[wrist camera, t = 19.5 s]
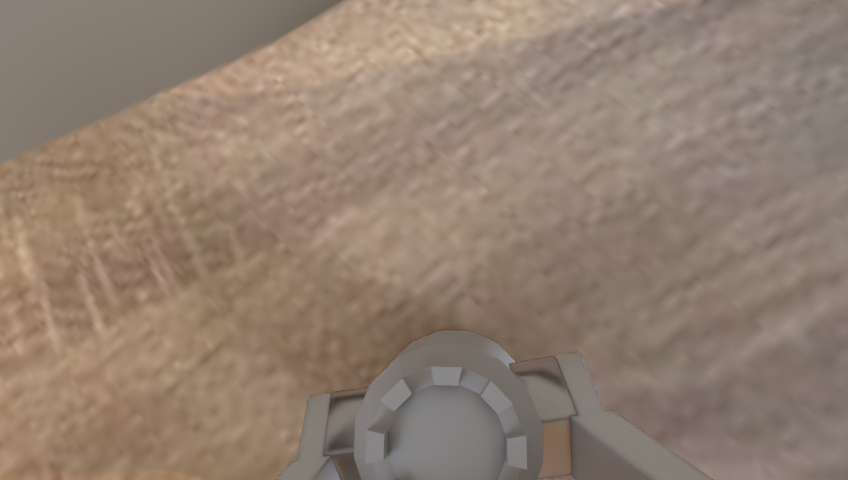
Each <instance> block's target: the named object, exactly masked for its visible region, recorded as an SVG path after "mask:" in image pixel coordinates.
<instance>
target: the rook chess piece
mask: <svg viewBox="0 0 848 480" xmlns="http://www.w3.org/2000/svg"><path fill="white" fill-rule="evenodd" d="M509 363H515V361H514V360H513V359H512V358H511V357H510V356H509V355H508V354H507V353H506V352H505V350H504V349H503V348H502V347H501V346H500V345H499V344H498V343H497V342H494V341H492V340H490V339H487V338H485V337H483V336H481V335H478V334H476V333H474V332H471V331H457V330H440V331H437V332H435V333H432V334H430V335H427V336H425V337H422V338H420V339H417V340H415V341H413V342H412V343H410V344H409V345H408V346H407V347H406V348H405V349H404V350H403V351H402V352H401V353H400V354H399V355H398V356H397V357H396V358H395V359H394V360H393V361H392V362H391V363H390V365H389V366H388V367H387V368H386V369H385V370H384V371H383V372H382V373H381V374H380V375H379V376H378V377H377V378H376V379H375V380H374V381H373V382H372V383H371V384H370V386H369V389H368V391H367V393H366V395H365V398H364V400H363V402H362V404H361V407H360V409H359V411H358V413H357V416H356V419H355V440H354V459H355V462H356V465H357V468H358V471H359V474H360V477H361V480H537V478H538V476H539V473H540V470H541V468H542V465H543V443H542V422H541V420H540V418H539V415H538V413H537V410H536V408H535V406H534V403H533V401H532V398H531V396H530V394H529V391H528V389H527V387H526V386H525V385H524V384H523V383H522V382H521V381H520V380H519V379H518V378H517V377H516V376H515V375H514V374H513V373H512V371H511V370H510V369H509Z"/></svg>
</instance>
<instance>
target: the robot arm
mask: <svg viewBox="0 0 848 480" xmlns="http://www.w3.org/2000/svg"><path fill="white" fill-rule="evenodd" d="M509 369H510V370H511V371H512V373H513V374H514V375H515V376H516V377H517V378H518V379H519V380H520V381H521V382H522V383H523V384H524V385H525V386H526V387H527V389H528V391H529V394H530V396H531V398H532V401H533V403H534V406H535V408H536V410H537V413H538V415H539V418H540V420H541V422H542V443H543V465H542V468H541V470H540V473H539V476H538V478H537V479H544V478H552V477H560V476H567V475H573V478H574V479H575V480H713V479H711V478H710V477H709V476H707V475H706V474H704V473H703V472H701V471H700V470H698V469H697V468H696V467H694V466H693V465H691V464H690V463H688V462H687V461H685V460H684V459H683V458H681V457H680V456H678V455H677V454H675V453H674V452H672V451H671V450H670V449H668V448H667V447H665V446H664V445H662V444H661V443H659V442H658V441H657V440H655V439H654V438H652V437H651V436H649V435H648V434H646V433H645V432H643V431H642V430H641V429H639V428H638V427H636V426H635V425H633V424H632V423H630V422H629V421H628V420H626V419H625V418H623V417H622V416H620V415H619V414H617V413H616V412H615V411H613V410H610V411H605V409H604V407H603V404H602V402H601V400H600V398H599V395H598V393H597V391H596V389H595V386H594V384H593V382H592V379H591V377H590V375H589V373H588V370H587V368H586V366H585V364H584V361H583V359H582V357H581V355H580V354H579V353H578V352H573V353H567V354H561V355H555V356H549V357H543V358H538V359H532V360H526V361H521V362H515V363H509ZM368 389H369V387H365V388H358V389H351V390H344V391H336V392H332V393H325V394H318V395H311V396H310V397H309V399H308V401H307V404H306V410H305V416H304V422H303V428H302V434H301V440H300V447H299V453H298V459H297V461H293V462H290V463H289V464H288V466H287V467H286V468H285V469H284V471H283V472H282V473H281V474H280V475H279V477H278V478H277V479H276V480H361V477H360V474H359V471H358V468H357V465H356V462H355V459H354V440H355V419H356V416H357V413H358V411H359V409H360V407H361V404H362V402H363V400H364V398H365V395H366V393H367V391H368Z"/></svg>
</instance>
